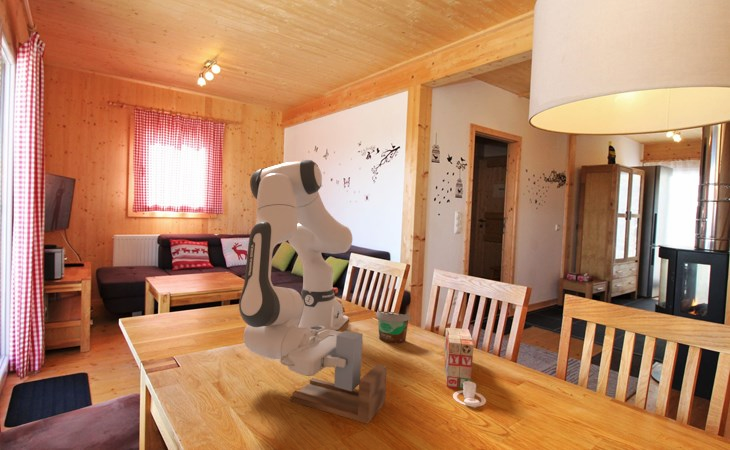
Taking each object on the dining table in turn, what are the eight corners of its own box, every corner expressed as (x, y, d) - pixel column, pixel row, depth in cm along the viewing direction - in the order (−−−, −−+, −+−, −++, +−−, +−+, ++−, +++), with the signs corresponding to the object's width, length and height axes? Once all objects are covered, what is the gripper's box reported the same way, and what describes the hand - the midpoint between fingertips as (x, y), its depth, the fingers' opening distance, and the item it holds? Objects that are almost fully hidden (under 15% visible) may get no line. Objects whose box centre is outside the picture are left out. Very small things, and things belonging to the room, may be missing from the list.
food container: (369, 340, 136) (371, 312, 136) (376, 335, 142) (377, 308, 141) (404, 347, 132) (405, 317, 131) (409, 341, 138) (410, 313, 137)
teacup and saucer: (479, 413, 93) (480, 396, 93) (447, 402, 97) (447, 386, 97) (489, 398, 100) (490, 382, 100) (459, 389, 105) (460, 374, 104)
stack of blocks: (443, 356, 125) (446, 318, 125) (464, 358, 125) (466, 319, 124) (446, 387, 104) (449, 341, 104) (471, 390, 103) (473, 344, 103)
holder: (313, 384, 103) (314, 350, 102) (384, 403, 95) (386, 366, 94) (290, 401, 94) (292, 364, 93) (368, 423, 86) (369, 383, 85)
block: (343, 379, 96) (345, 330, 95) (360, 383, 94) (362, 333, 93) (334, 386, 92) (336, 335, 91) (351, 391, 90) (354, 339, 89)
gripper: (276, 347, 88) (330, 360, 82) (323, 323, 107) (370, 333, 101) (275, 375, 89) (329, 390, 83) (322, 346, 107) (369, 357, 101)
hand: (352, 358), depth 92 cm, fingers closed on block, 4 cm apart
